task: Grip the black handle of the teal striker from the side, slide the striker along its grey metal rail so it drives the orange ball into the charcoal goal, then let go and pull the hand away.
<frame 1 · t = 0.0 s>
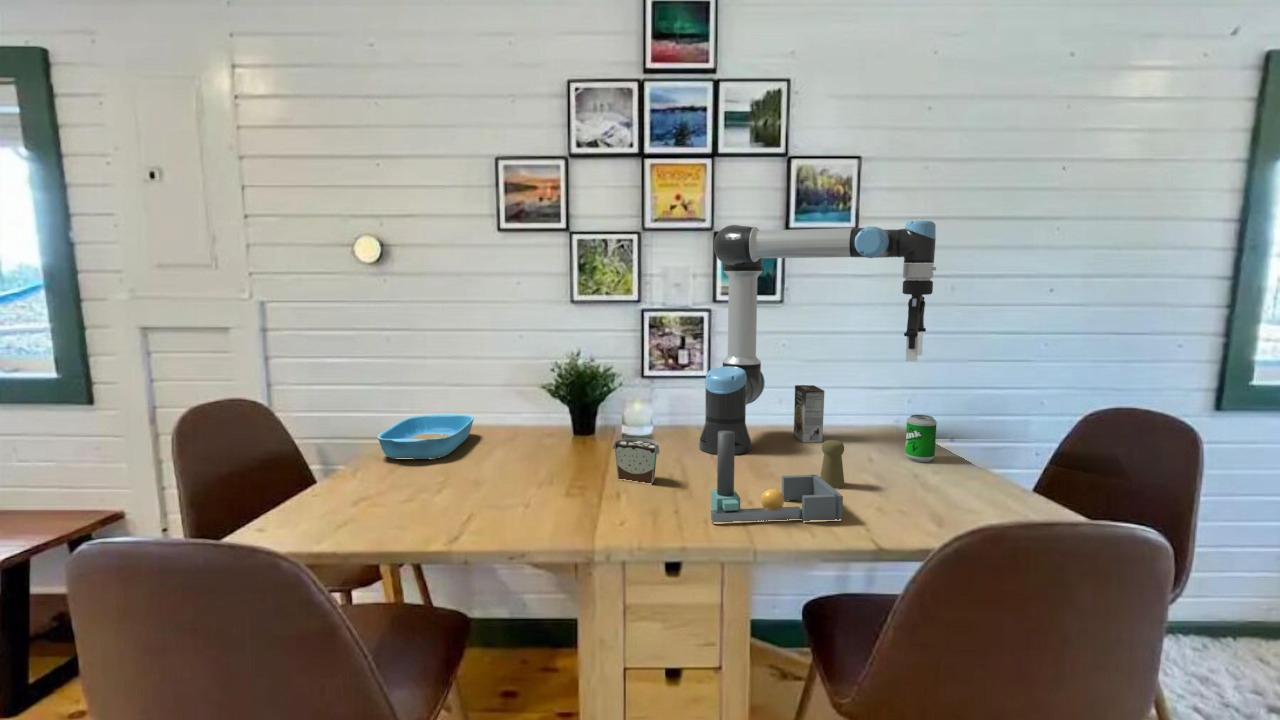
hand: (913, 358, 186), 28 cm above the table, tool pointing down, fingers open, 13 cm apart
soda can: (919, 460, 188), on the table
casserole dish: (429, 448, 203), on the table
rail: (725, 513, 148), on the table
olive pawn figure: (831, 485, 167), on the table
striker: (727, 474, 145), point 9 cm above the table, slide at 0.0 cm
coffee box: (807, 439, 211), on the table
ball: (772, 511, 149), on the table
goal: (811, 509, 150), on the table
food container: (640, 480, 172), on the table
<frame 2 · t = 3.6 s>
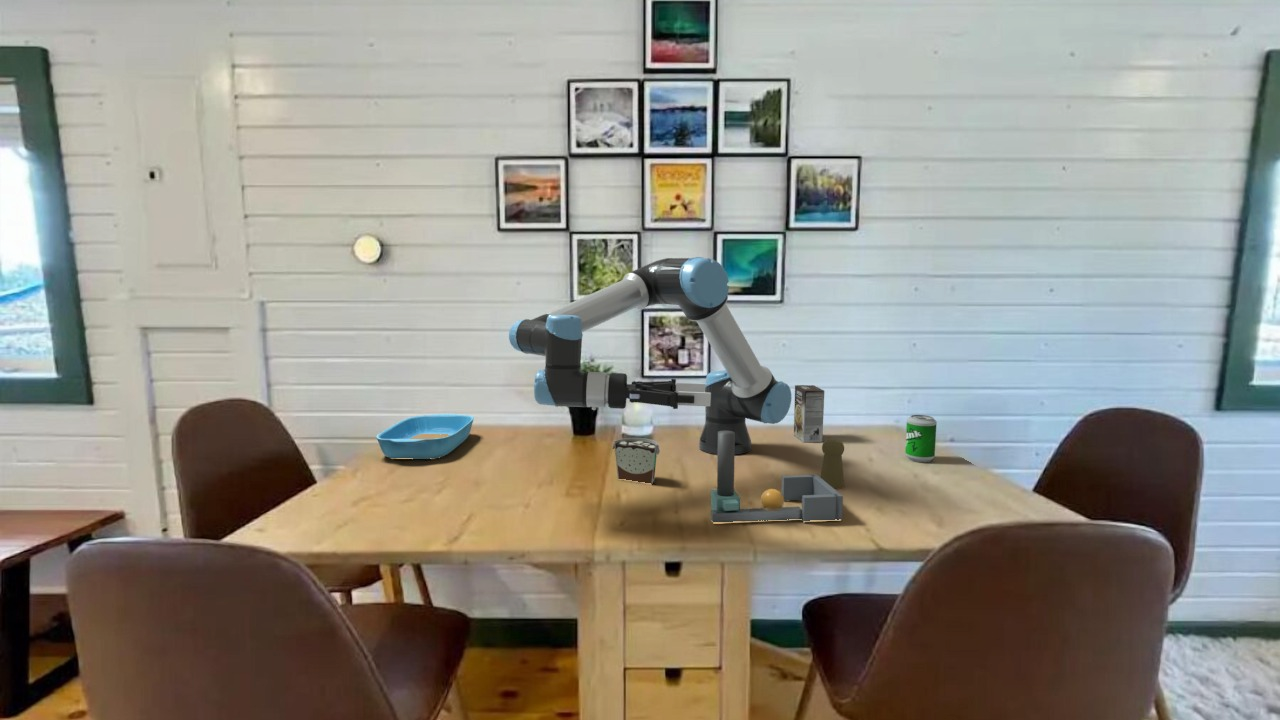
hand: (707, 394, 145), 26 cm above the table, tool horizontal, fingers open, 13 cm apart
nothing on the table moved.
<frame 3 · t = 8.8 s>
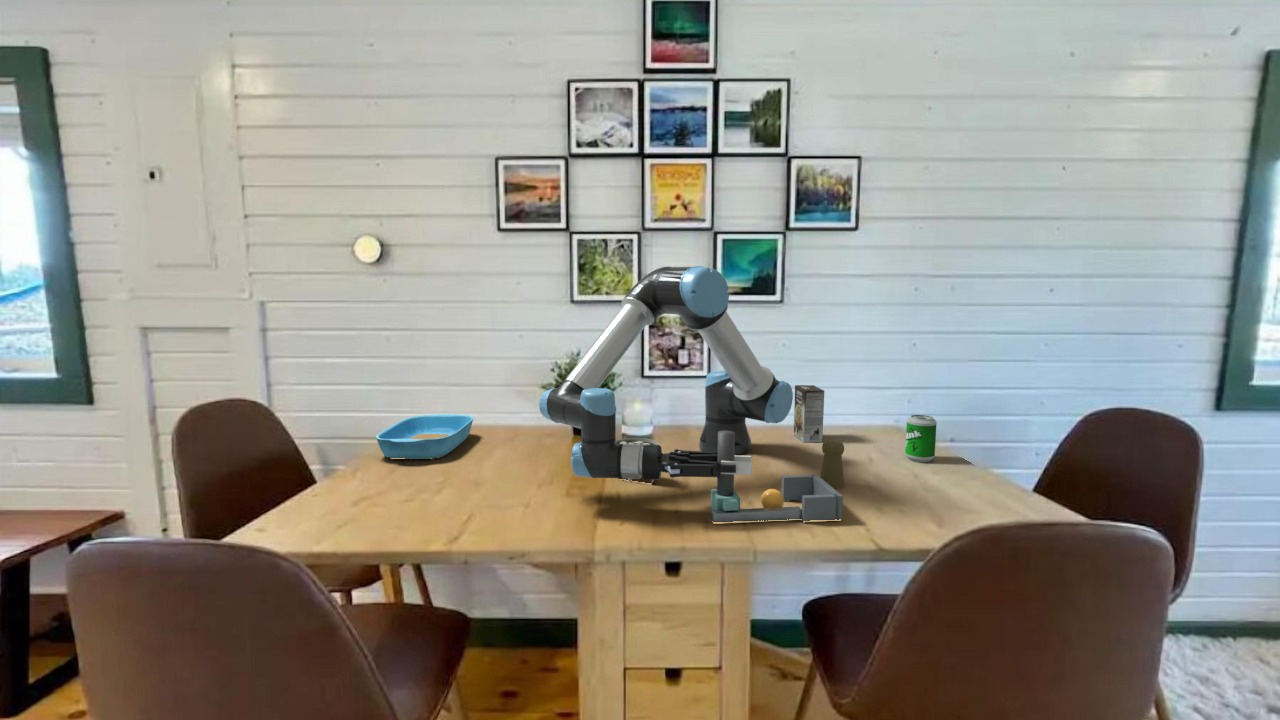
hand: (751, 465, 146), 11 cm above the table, tool horizontal, fingers closed on striker, 4 cm apart
striker: (727, 474, 145), point 9 cm above the table, slide at 0.0 cm, touching gripper
everything else where it was.
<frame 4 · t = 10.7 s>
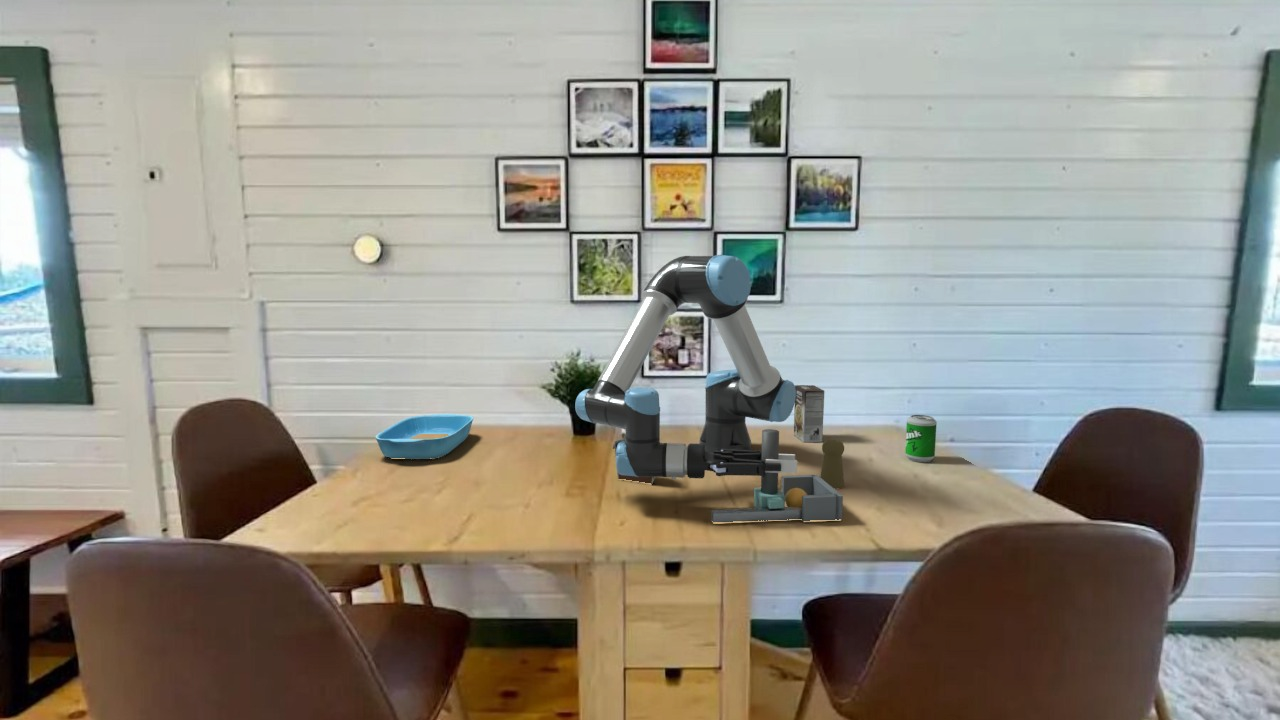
hand: (795, 463, 147), 11 cm above the table, tool horizontal, fingers closed on striker, 4 cm apart
striker: (771, 472, 146), point 9 cm above the table, slide at 9.7 cm, touching gripper
ball: (787, 493, 149), point 4 cm above the table, tilted 123°
everything else where it was.
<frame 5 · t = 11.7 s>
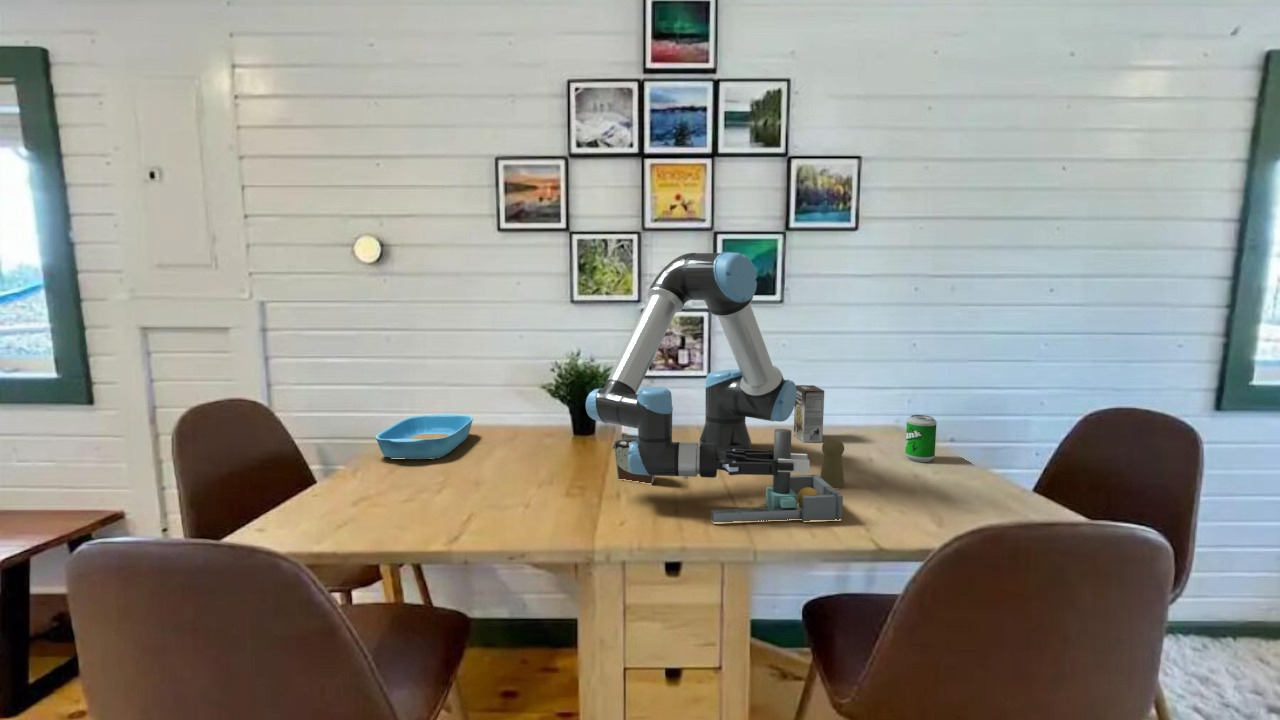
hand: (807, 463, 147), 11 cm above the table, tool horizontal, fingers closed on striker, 4 cm apart
striker: (783, 471, 147), point 9 cm above the table, slide at 12.4 cm, touching gripper
ball: (809, 487, 149), point 5 cm above the table, tilted 175°
everything else where it was.
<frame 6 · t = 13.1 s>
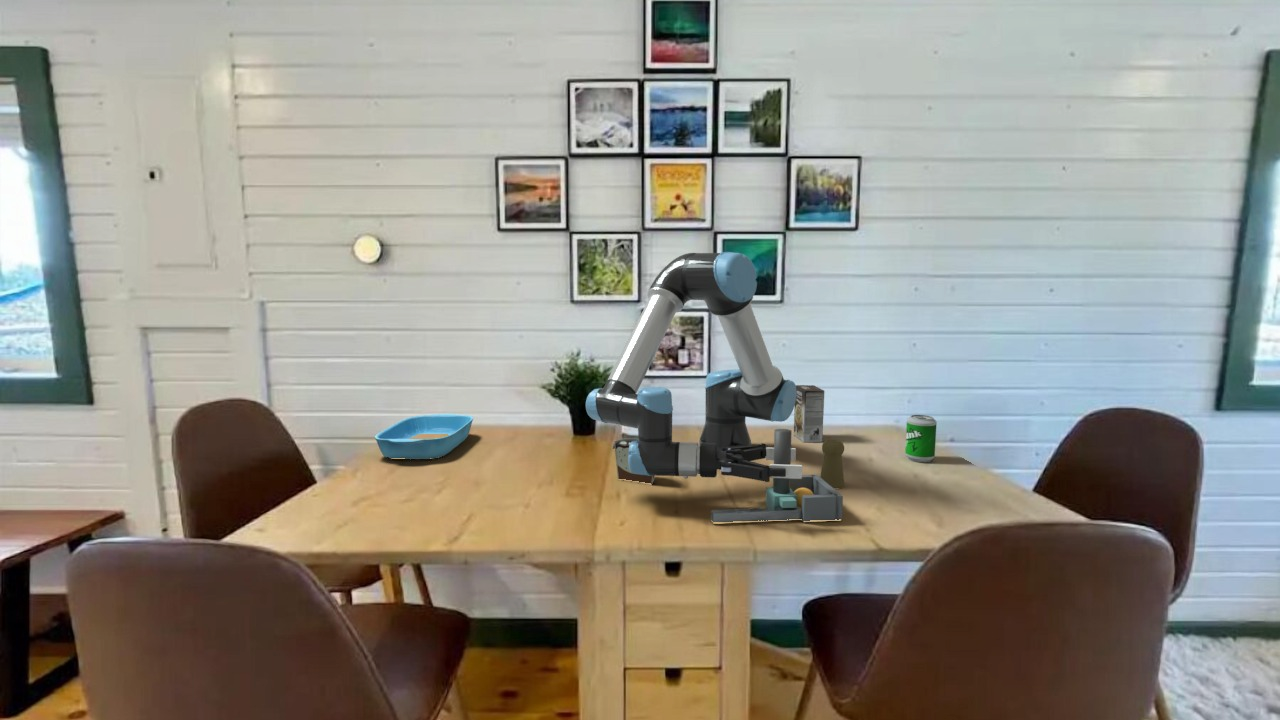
hand: (798, 462, 147), 11 cm above the table, tool horizontal, fingers open, 12 cm apart
striker: (783, 471, 147), point 9 cm above the table, slide at 12.4 cm
ball: (799, 489, 149), point 5 cm above the table, tilted 160°
everything else where it was.
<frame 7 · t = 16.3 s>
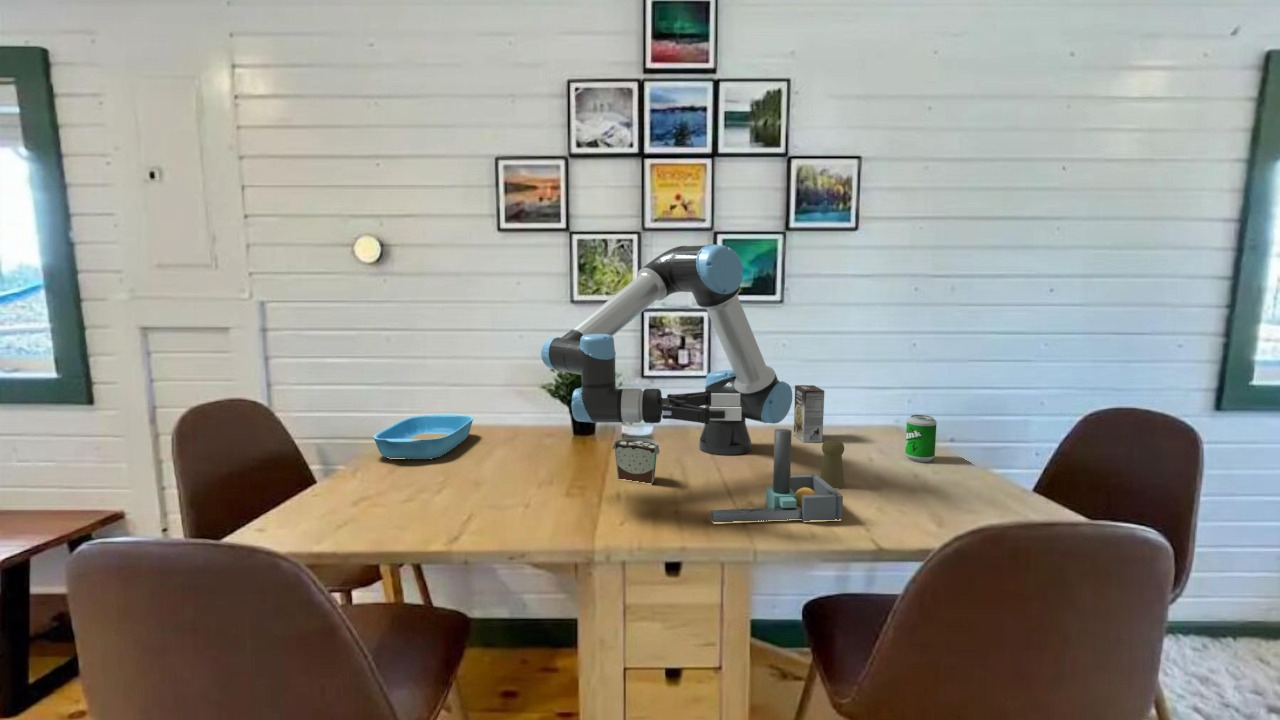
hand: (741, 406, 147), 23 cm above the table, tool horizontal, fingers open, 13 cm apart
ball: (804, 488, 149), point 5 cm above the table, tilted 171°
everything else where it was.
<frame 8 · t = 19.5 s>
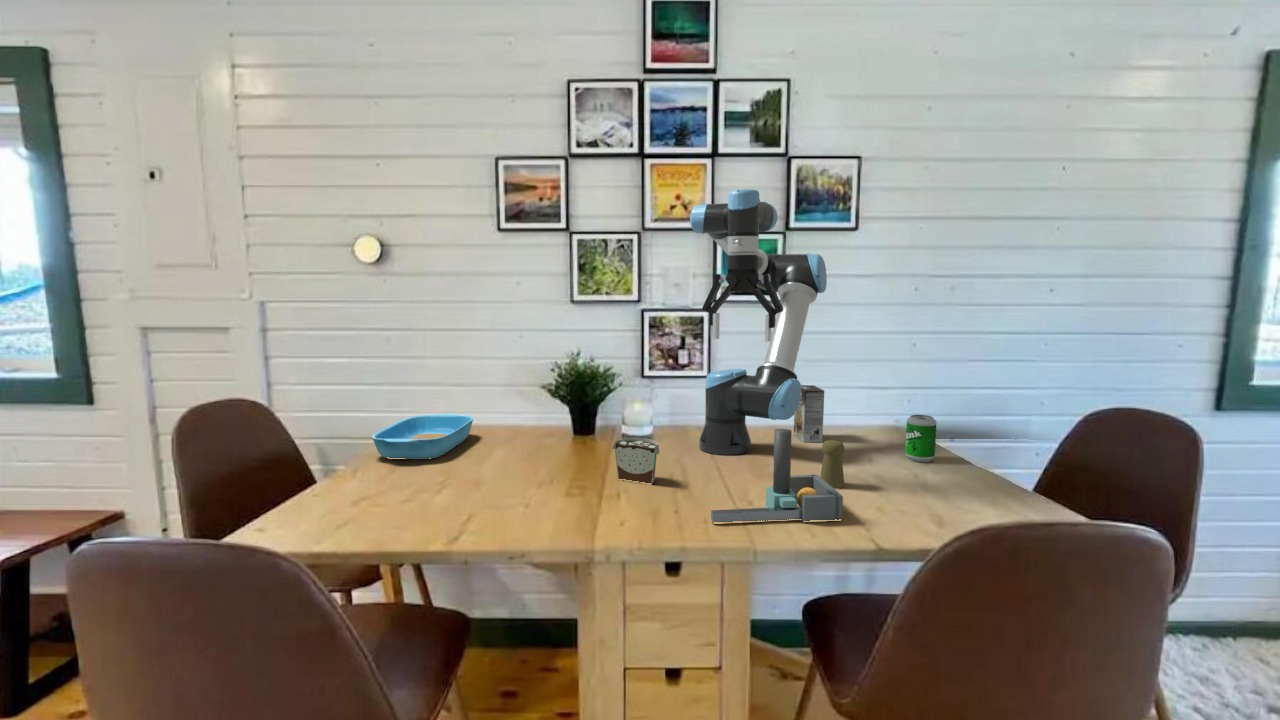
hand: (741, 340, 171), 35 cm above the table, tool pointing down, fingers open, 13 cm apart
ball: (809, 487, 149), point 5 cm above the table, tilted 177°
at the end: ball 0.8 cm from the goal (horizontally); striker moved 12.4 cm from its start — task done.
